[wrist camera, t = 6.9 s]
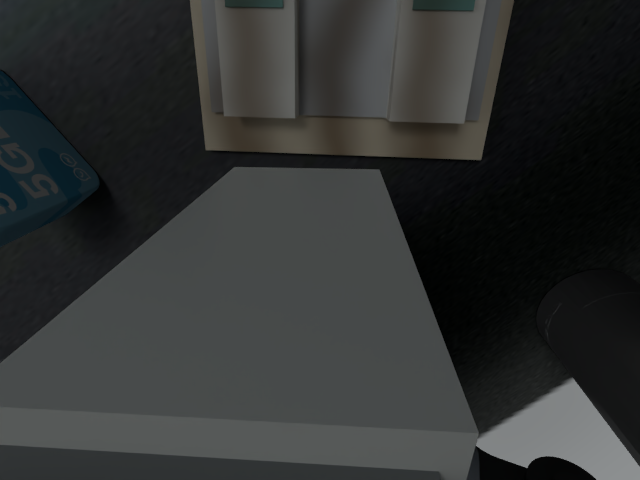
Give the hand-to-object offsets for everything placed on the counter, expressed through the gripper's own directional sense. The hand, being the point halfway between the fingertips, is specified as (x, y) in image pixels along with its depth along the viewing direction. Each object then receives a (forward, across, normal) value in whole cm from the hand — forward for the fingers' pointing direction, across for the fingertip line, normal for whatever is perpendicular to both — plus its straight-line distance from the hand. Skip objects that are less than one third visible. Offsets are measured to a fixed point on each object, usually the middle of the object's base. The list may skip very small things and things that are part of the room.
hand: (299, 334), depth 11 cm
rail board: (+22, -1, -9) cm, 24 cm away
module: (+2, 0, 0) cm, 2 cm away
